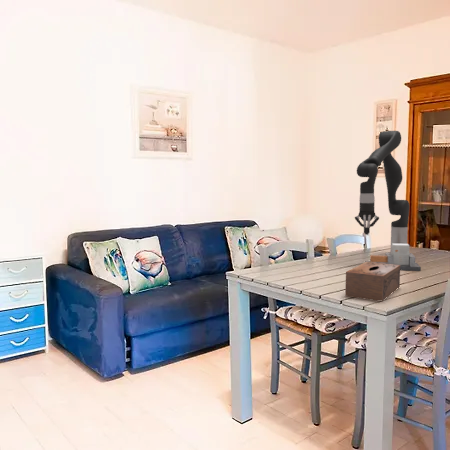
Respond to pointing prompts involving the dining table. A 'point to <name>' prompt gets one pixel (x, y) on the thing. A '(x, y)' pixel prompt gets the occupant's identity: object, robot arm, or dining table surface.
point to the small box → (400, 254)
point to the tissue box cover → (372, 280)
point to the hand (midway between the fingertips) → (366, 234)
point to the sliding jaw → (382, 258)
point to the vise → (410, 267)
